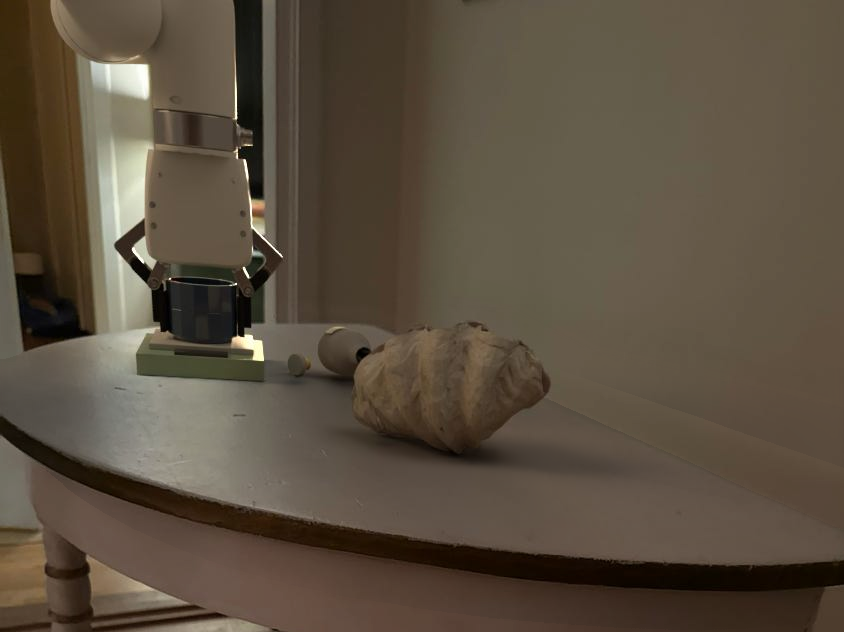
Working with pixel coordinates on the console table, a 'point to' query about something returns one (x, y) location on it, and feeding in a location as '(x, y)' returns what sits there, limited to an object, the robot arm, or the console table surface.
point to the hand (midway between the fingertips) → (203, 331)
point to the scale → (200, 358)
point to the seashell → (447, 385)
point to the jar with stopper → (335, 352)
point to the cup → (202, 309)
